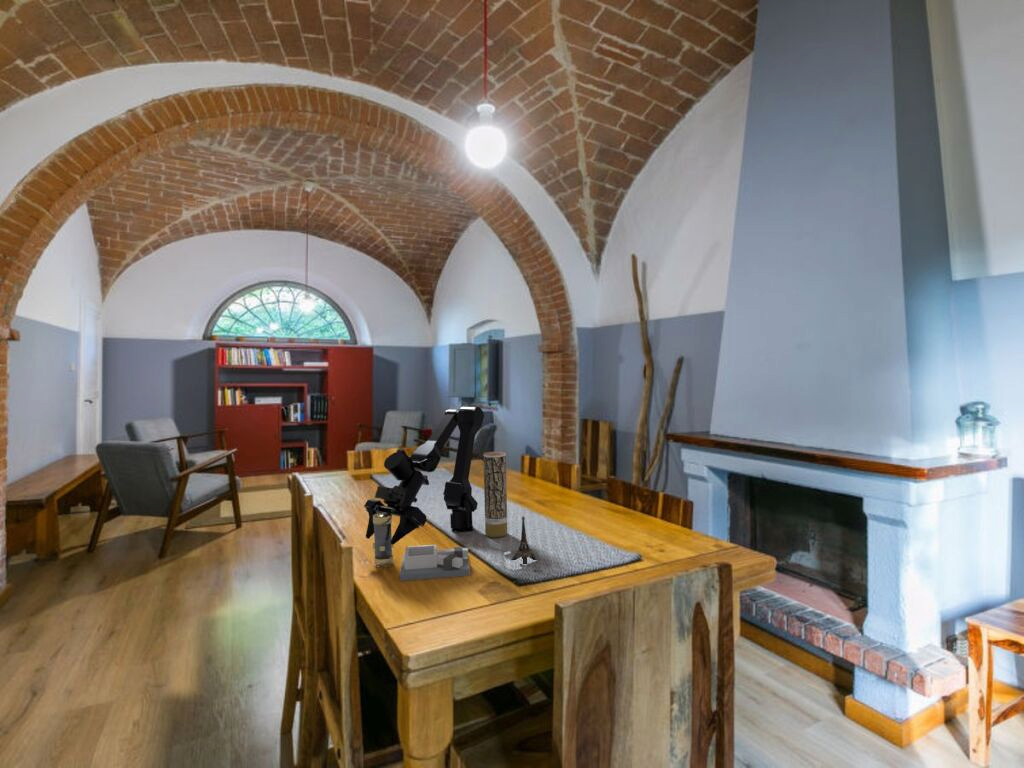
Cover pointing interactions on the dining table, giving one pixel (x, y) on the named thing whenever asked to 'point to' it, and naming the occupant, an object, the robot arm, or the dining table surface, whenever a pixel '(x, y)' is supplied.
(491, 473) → the brown textured cylinder
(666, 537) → the dining table surface
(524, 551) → the eiffel tower figurine
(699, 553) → the dining table surface
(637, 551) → the dining table surface
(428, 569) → the shaft stand
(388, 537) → the coupling
